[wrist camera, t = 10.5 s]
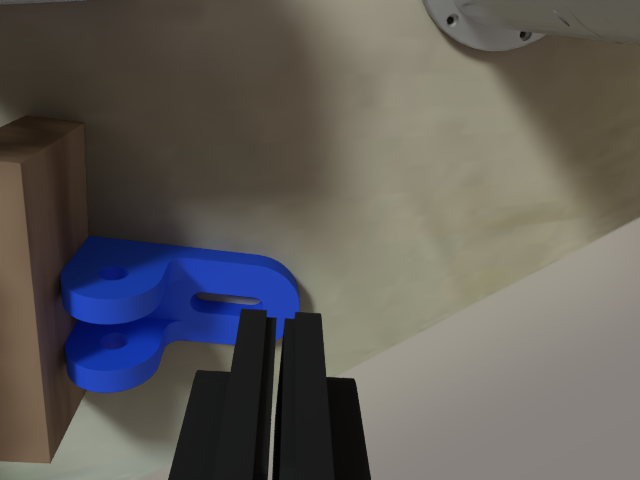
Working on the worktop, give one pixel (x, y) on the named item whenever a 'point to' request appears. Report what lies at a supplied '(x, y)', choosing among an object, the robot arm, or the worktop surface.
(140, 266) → the bracket
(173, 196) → the worktop surface
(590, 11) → the robot arm
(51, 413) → the board
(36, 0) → the supplement box
